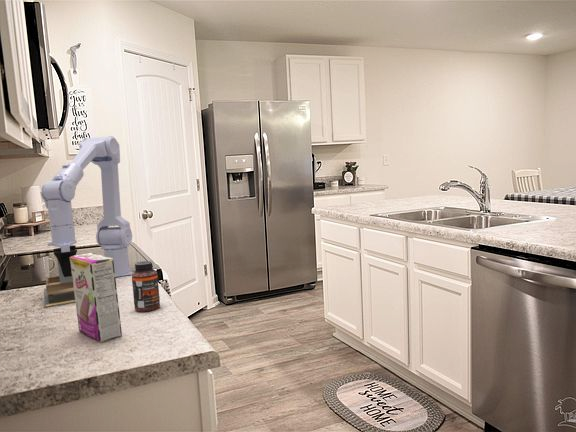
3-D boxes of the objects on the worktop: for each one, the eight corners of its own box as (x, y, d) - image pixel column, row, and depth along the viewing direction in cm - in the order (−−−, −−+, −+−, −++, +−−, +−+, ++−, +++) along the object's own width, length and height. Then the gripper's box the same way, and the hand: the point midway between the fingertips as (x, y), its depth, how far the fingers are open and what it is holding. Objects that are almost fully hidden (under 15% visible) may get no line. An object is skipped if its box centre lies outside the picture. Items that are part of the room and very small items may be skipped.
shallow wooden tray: (48, 294, 134) (46, 278, 133) (90, 287, 138) (88, 271, 138) (48, 304, 124) (45, 286, 123) (93, 296, 129) (91, 279, 128)
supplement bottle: (145, 313, 112) (140, 266, 110) (129, 310, 115) (124, 264, 114) (165, 306, 117) (161, 260, 115) (150, 303, 120) (145, 259, 119)
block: (59, 280, 132) (57, 258, 131) (77, 277, 134) (75, 256, 133) (60, 283, 128) (57, 261, 127) (78, 280, 130) (76, 258, 129)
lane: (44, 289, 142) (44, 288, 142) (91, 282, 147) (91, 280, 147) (44, 308, 122) (43, 306, 122) (98, 298, 128) (98, 297, 128)
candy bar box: (77, 331, 102) (68, 256, 100) (100, 325, 106) (92, 251, 104) (99, 344, 94) (89, 262, 92) (123, 336, 98) (114, 257, 96)
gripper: (45, 224, 134) (51, 272, 135) (45, 229, 121) (51, 282, 122) (73, 221, 137) (78, 268, 138) (75, 226, 124) (81, 277, 125)
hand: (68, 274), depth 131 cm, fingers closed on block, 4 cm apart
